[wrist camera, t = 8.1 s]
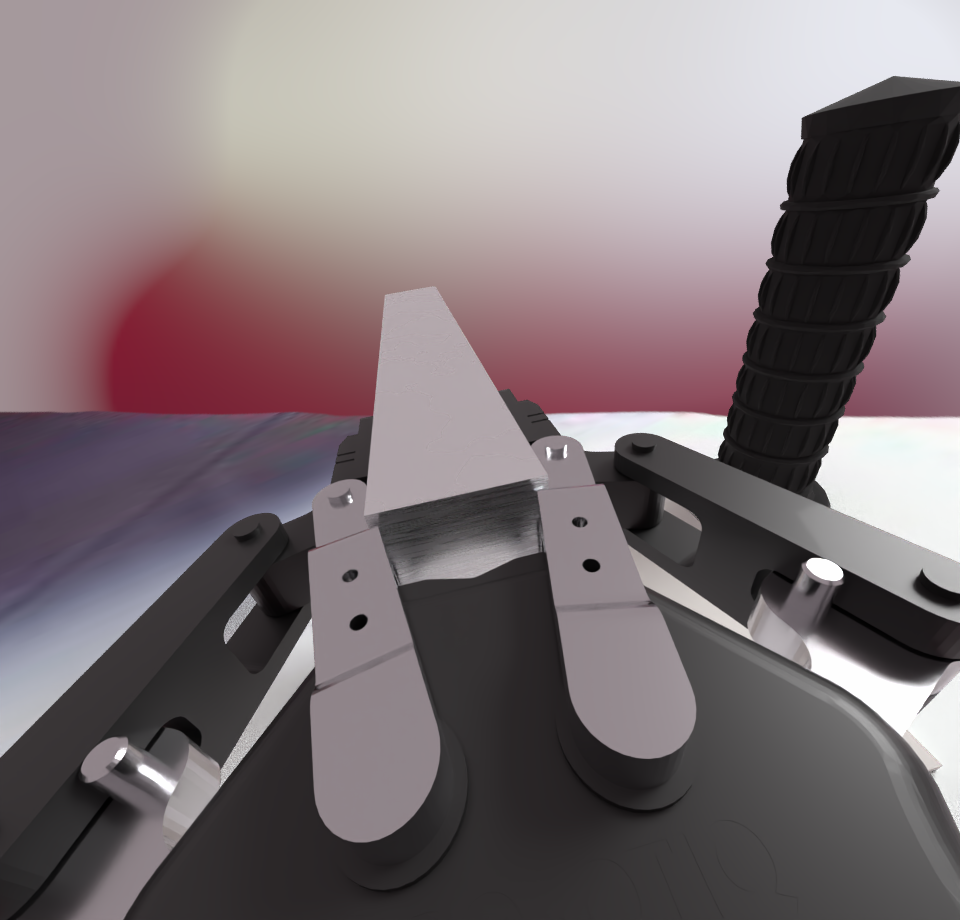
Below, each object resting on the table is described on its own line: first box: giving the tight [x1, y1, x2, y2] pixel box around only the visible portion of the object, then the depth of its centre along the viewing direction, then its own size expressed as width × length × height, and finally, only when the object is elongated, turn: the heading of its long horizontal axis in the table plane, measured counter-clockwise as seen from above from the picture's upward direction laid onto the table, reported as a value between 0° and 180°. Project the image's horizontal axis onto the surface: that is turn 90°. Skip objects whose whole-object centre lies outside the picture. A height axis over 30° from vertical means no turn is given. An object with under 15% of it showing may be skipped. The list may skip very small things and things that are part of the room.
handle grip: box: [715, 76, 960, 508], centre depth 27 cm, size 10×26×10 cm
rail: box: [364, 286, 548, 586], centre depth 18 cm, size 24×4×4 cm, turn 10°
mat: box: [628, 498, 942, 772], centre depth 29 cm, size 10×28×1 cm, turn 10°
